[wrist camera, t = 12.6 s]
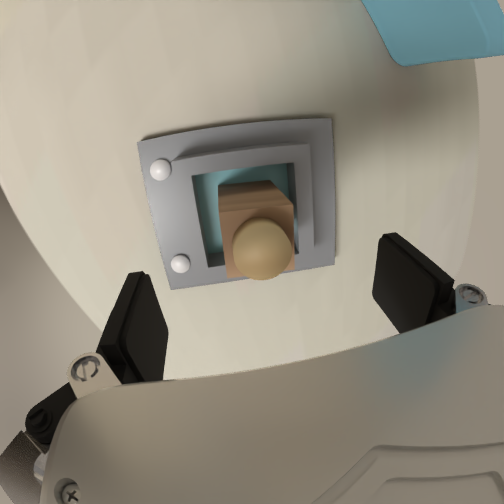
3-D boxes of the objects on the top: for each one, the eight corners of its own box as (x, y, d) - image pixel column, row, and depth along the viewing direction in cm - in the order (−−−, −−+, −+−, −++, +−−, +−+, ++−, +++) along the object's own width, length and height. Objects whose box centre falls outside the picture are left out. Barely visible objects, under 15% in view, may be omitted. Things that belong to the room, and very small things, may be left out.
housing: (140, 141, 20) (127, 144, 17) (326, 118, 21) (344, 118, 18) (172, 284, 25) (167, 306, 22) (330, 259, 26) (344, 278, 23)
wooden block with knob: (217, 185, 21) (219, 222, 13) (270, 179, 21) (300, 213, 14) (223, 233, 23) (228, 292, 15) (272, 227, 23) (301, 282, 15)
